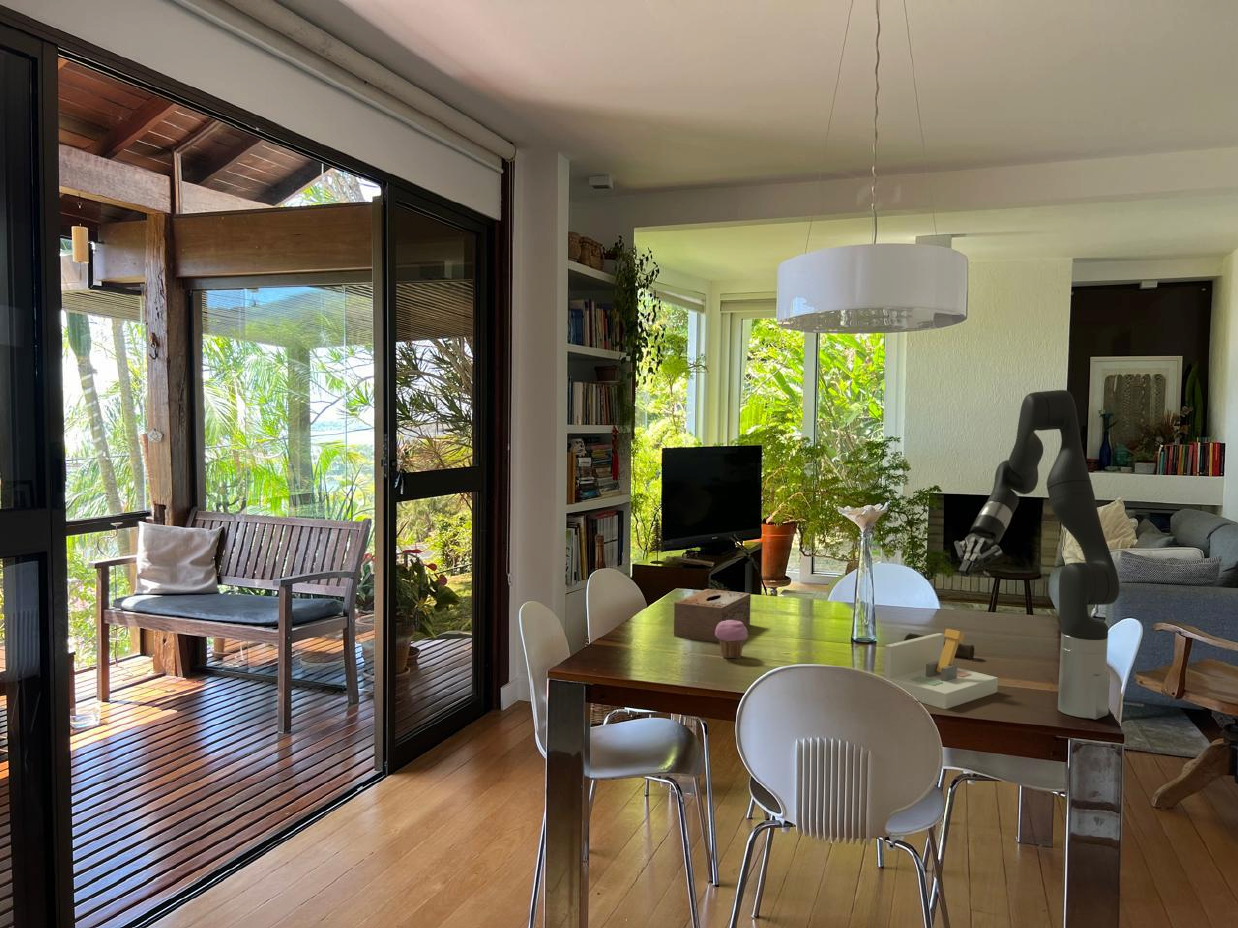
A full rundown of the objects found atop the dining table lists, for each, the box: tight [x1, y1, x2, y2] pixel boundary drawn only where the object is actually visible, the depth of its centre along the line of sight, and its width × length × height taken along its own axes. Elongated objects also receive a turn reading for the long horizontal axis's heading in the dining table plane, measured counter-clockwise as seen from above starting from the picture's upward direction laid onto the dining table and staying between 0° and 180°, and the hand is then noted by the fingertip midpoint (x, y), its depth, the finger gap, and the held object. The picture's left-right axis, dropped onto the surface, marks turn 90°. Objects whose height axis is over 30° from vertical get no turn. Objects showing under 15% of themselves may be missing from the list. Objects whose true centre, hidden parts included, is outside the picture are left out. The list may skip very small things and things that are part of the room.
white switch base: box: [883, 632, 999, 710], centre depth 218 cm, size 22×16×11 cm
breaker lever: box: [936, 628, 966, 673], centre depth 219 cm, size 2×4×10 cm, turn 39°
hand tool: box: [903, 632, 975, 661], centre depth 255 cm, size 19×4×5 cm, turn 52°
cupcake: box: [715, 620, 749, 659], centre depth 246 cm, size 9×9×10 cm
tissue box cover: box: [673, 588, 752, 643], centre depth 277 cm, size 26×14×10 cm, turn 153°
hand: (963, 574), depth 232 cm, fingers closed
